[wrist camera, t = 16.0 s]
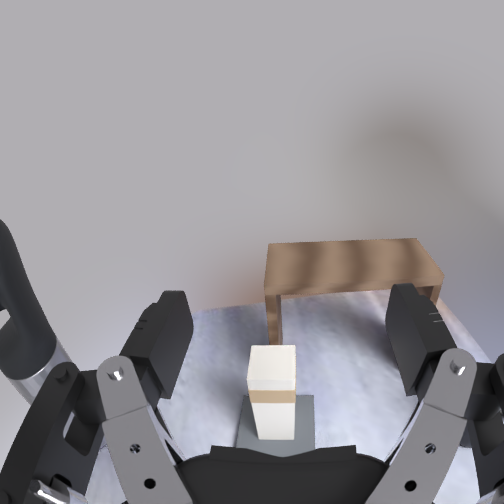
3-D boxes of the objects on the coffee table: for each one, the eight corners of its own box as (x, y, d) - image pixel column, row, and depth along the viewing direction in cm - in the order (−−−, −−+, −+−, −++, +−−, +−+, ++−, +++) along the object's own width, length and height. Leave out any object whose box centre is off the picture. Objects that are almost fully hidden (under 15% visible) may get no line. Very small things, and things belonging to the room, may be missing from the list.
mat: (235, 457, 30) (234, 455, 30) (244, 398, 39) (243, 395, 39) (314, 458, 29) (315, 456, 29) (313, 398, 38) (313, 395, 37)
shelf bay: (272, 383, 41) (264, 285, 33) (275, 337, 50) (268, 243, 41) (410, 372, 38) (444, 275, 30) (396, 330, 47) (416, 238, 38)
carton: (258, 439, 32) (246, 379, 25) (261, 411, 36) (251, 345, 29) (294, 440, 31) (296, 379, 25) (295, 411, 35) (295, 344, 29)
